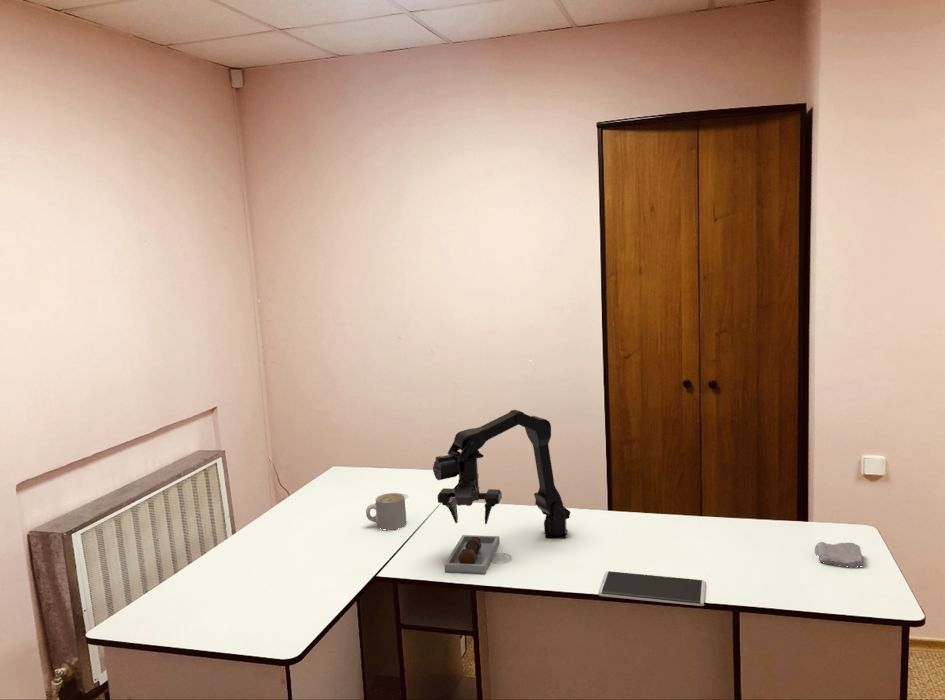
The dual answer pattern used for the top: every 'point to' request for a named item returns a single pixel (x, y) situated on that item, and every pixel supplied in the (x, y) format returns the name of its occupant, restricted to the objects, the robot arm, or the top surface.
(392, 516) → the coffee mug
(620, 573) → the smartphone
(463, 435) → the robot arm
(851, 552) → the stone block
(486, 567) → the parts tray
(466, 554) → the bolt
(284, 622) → the top surface
